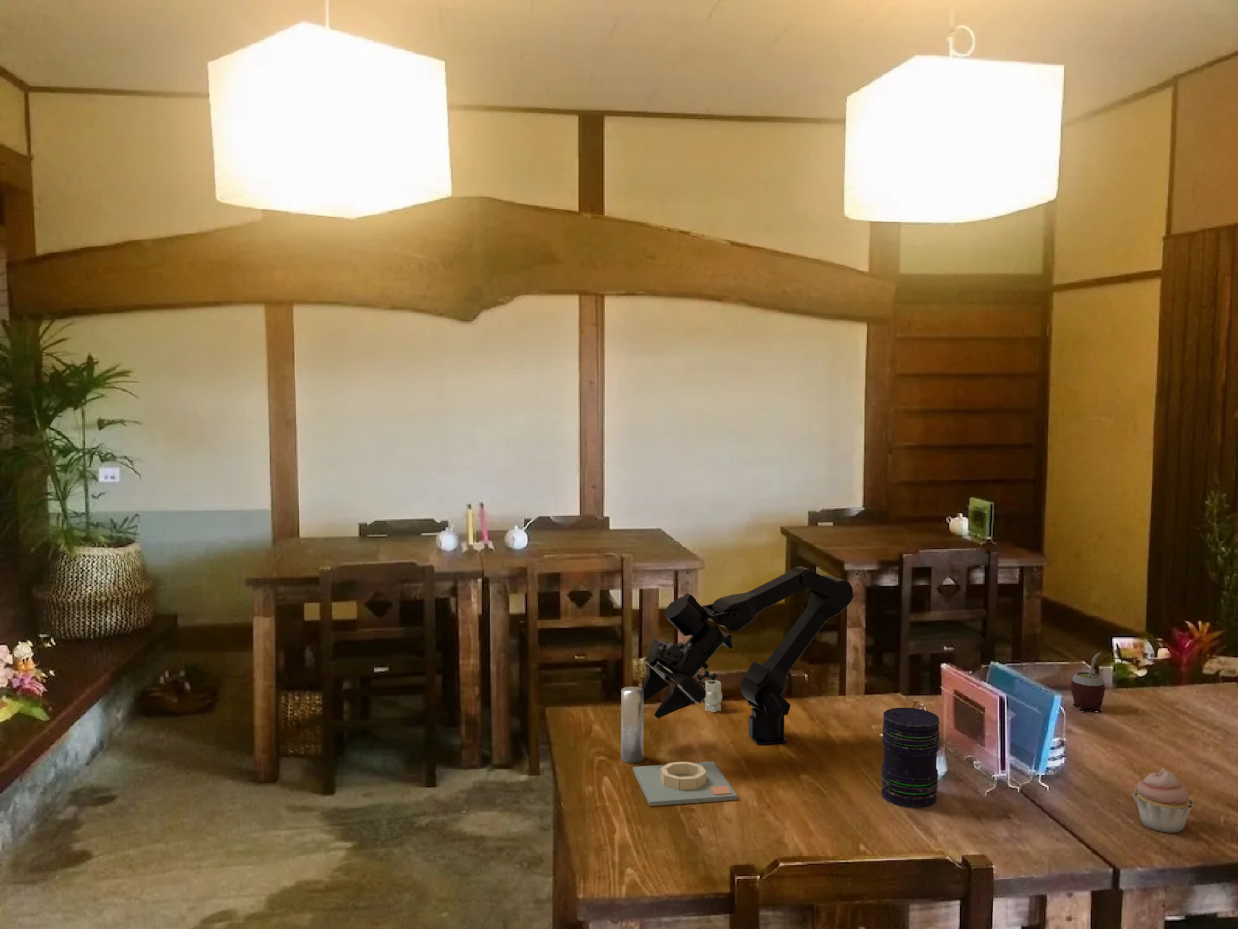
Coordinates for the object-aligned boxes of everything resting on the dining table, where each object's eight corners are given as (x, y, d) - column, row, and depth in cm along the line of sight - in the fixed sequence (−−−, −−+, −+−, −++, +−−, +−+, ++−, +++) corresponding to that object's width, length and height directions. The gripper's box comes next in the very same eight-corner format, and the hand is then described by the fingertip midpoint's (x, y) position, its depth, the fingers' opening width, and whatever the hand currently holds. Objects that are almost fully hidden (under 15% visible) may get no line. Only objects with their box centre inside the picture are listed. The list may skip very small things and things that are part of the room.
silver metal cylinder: (640, 754, 200) (641, 686, 199) (645, 762, 196) (645, 693, 195) (619, 755, 200) (619, 687, 198) (623, 764, 195) (623, 694, 194)
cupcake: (1127, 809, 175) (1130, 754, 174) (1188, 818, 172) (1191, 762, 171) (1133, 832, 166) (1136, 774, 166) (1197, 842, 163) (1200, 783, 162)
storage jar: (943, 793, 182) (945, 713, 181) (930, 813, 174) (932, 729, 172) (888, 781, 187) (890, 704, 186) (873, 800, 179) (875, 719, 177)
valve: (728, 713, 225) (719, 696, 237) (729, 685, 224) (720, 669, 236) (699, 714, 224) (692, 697, 236) (700, 685, 224) (692, 669, 236)
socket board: (713, 765, 195) (713, 751, 194) (737, 799, 179) (737, 784, 179) (632, 771, 192) (632, 756, 192) (649, 806, 176) (649, 791, 176)
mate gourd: (1078, 702, 233) (1081, 639, 231) (1113, 711, 227) (1116, 646, 225) (1063, 709, 228) (1066, 644, 227) (1098, 718, 222) (1101, 652, 221)
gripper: (654, 614, 207) (603, 671, 204) (692, 636, 190) (638, 698, 187) (688, 648, 211) (639, 704, 208) (728, 672, 193) (675, 734, 190)
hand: (646, 709), depth 198 cm, fingers open, 9 cm apart
